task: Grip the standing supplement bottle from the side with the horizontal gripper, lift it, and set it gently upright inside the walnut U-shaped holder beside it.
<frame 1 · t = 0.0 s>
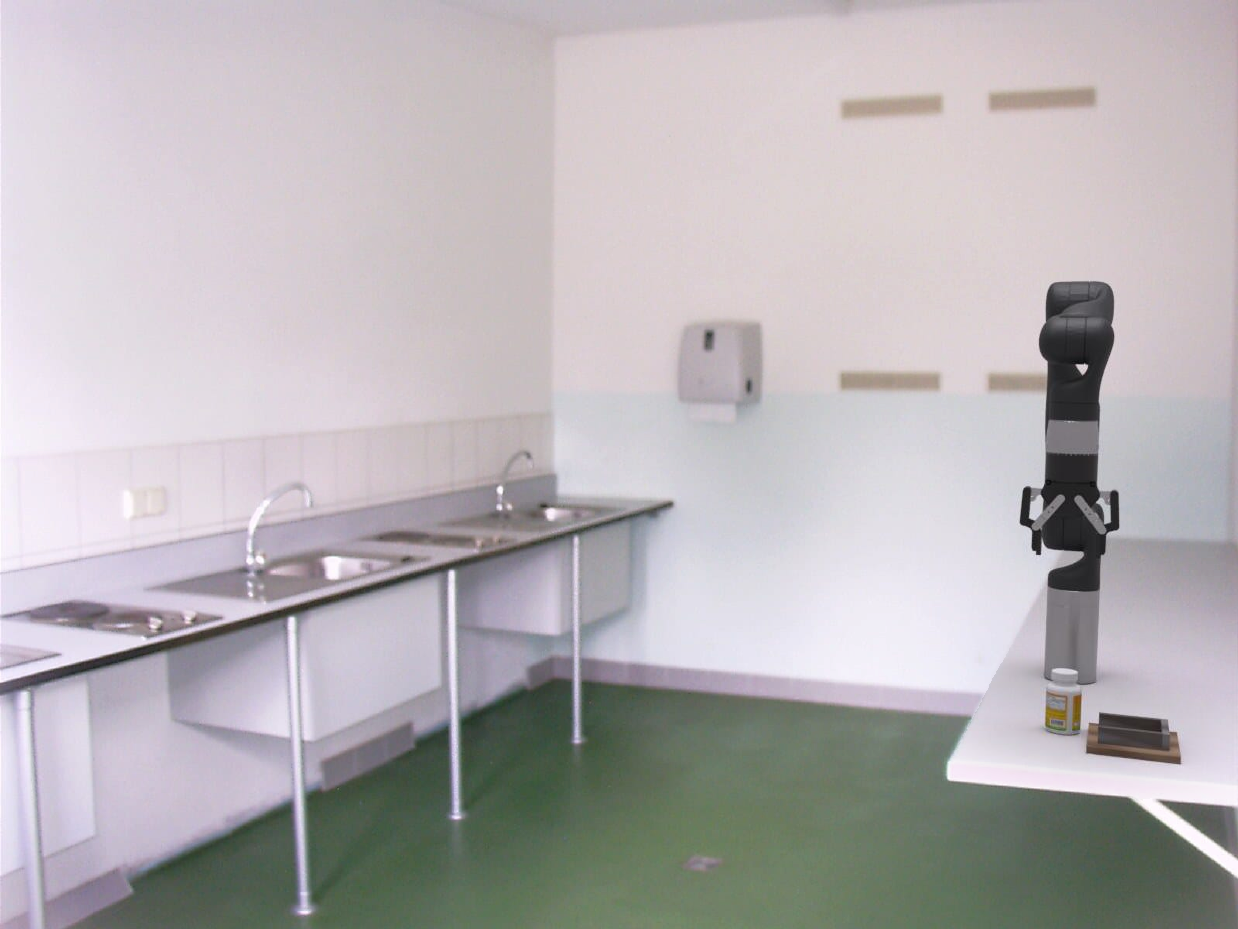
hand: (1067, 556, 192), 29 cm above the table, tool pointing down, fingers open, 8 cm apart
u holder: (1128, 745, 195), on the table
supplement bottle: (1062, 732, 202), on the table
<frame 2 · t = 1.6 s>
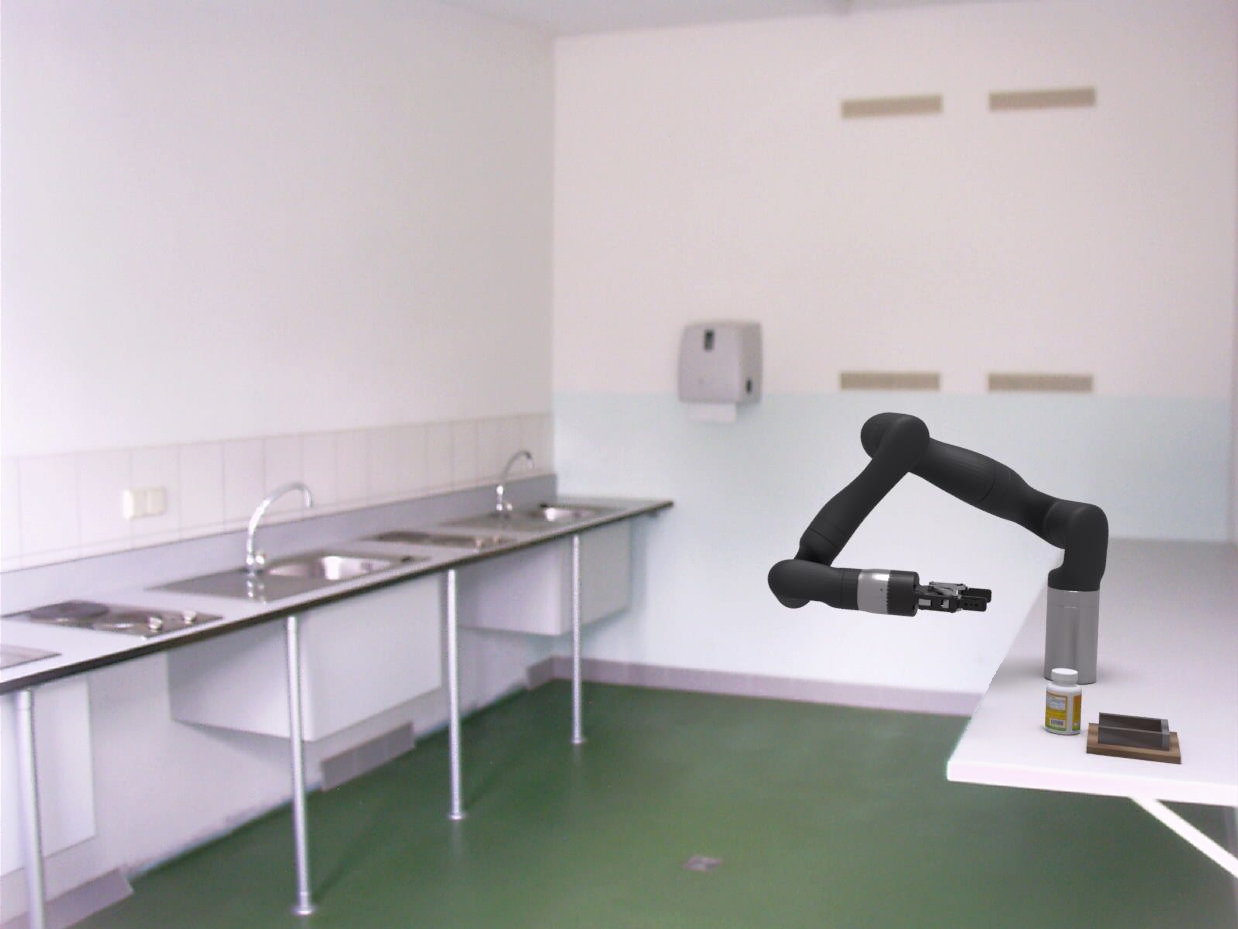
hand: (989, 600, 205), 20 cm above the table, tool horizontal, fingers open, 8 cm apart
nothing on the table moved.
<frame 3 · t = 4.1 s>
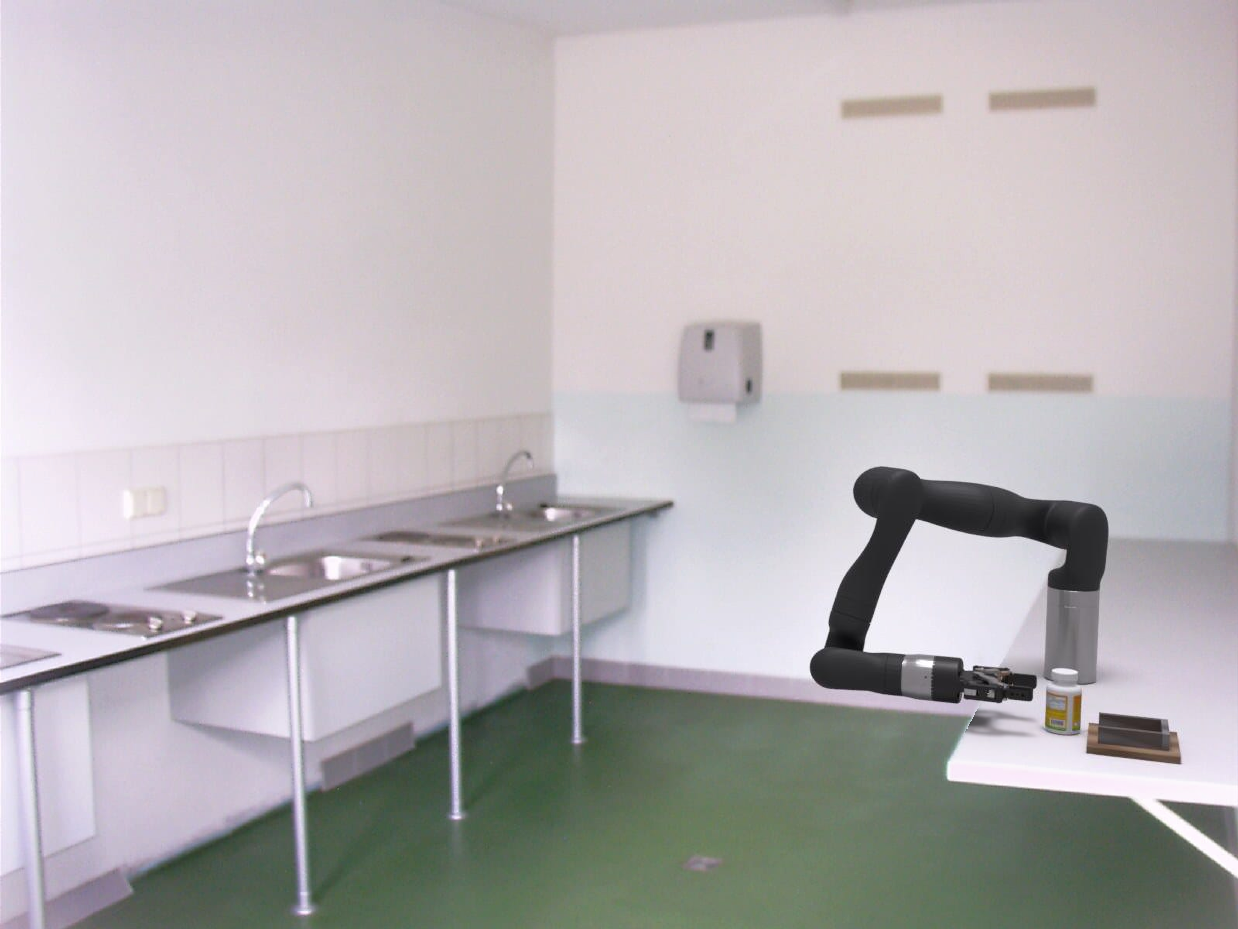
hand: (1034, 688, 203), 6 cm above the table, tool horizontal, fingers open, 8 cm apart
nothing on the table moved.
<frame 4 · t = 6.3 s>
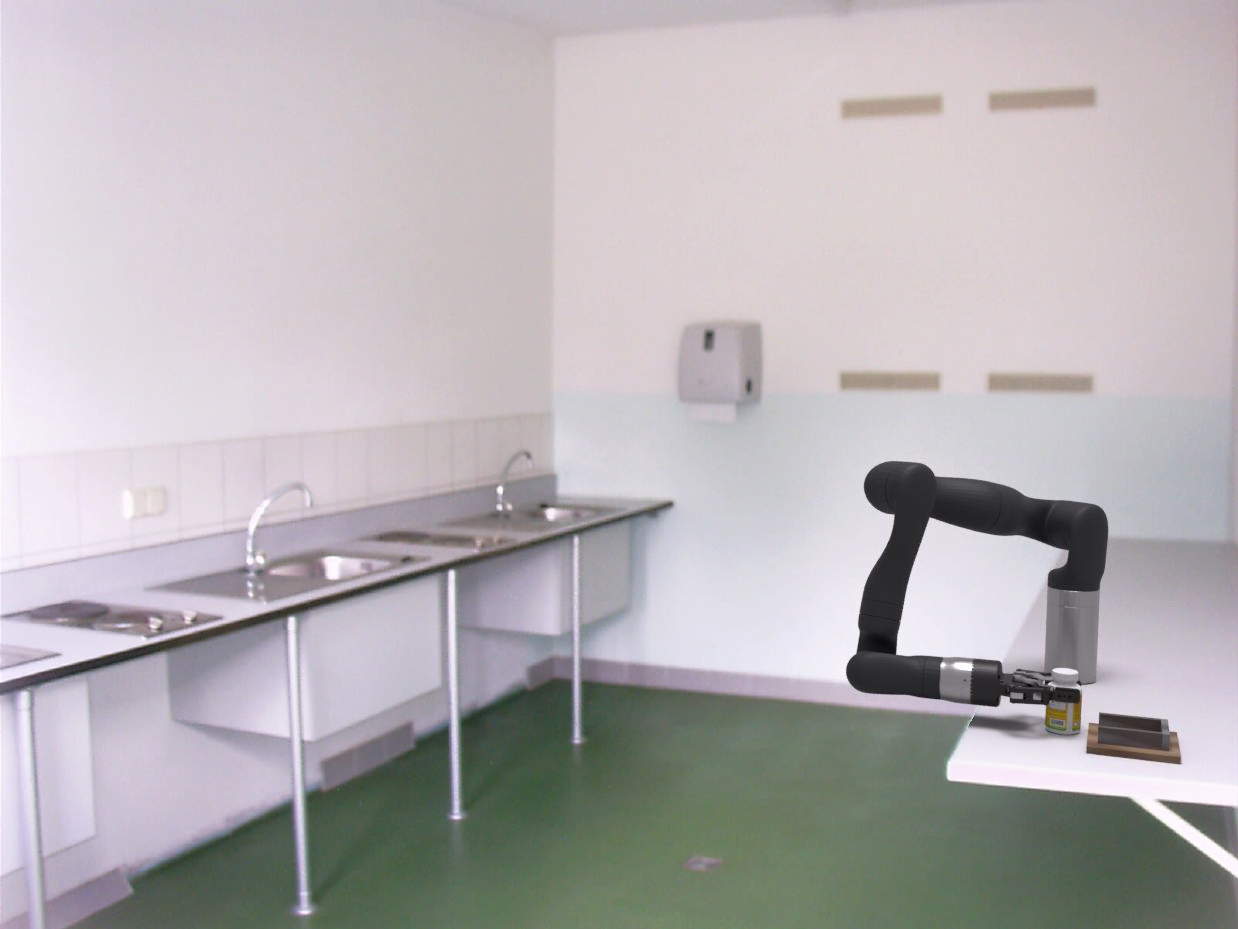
hand: (1080, 691, 201), 7 cm above the table, tool horizontal, fingers closed on supplement bottle, 5 cm apart
supplement bottle: (1062, 731, 202), on the table, touching gripper
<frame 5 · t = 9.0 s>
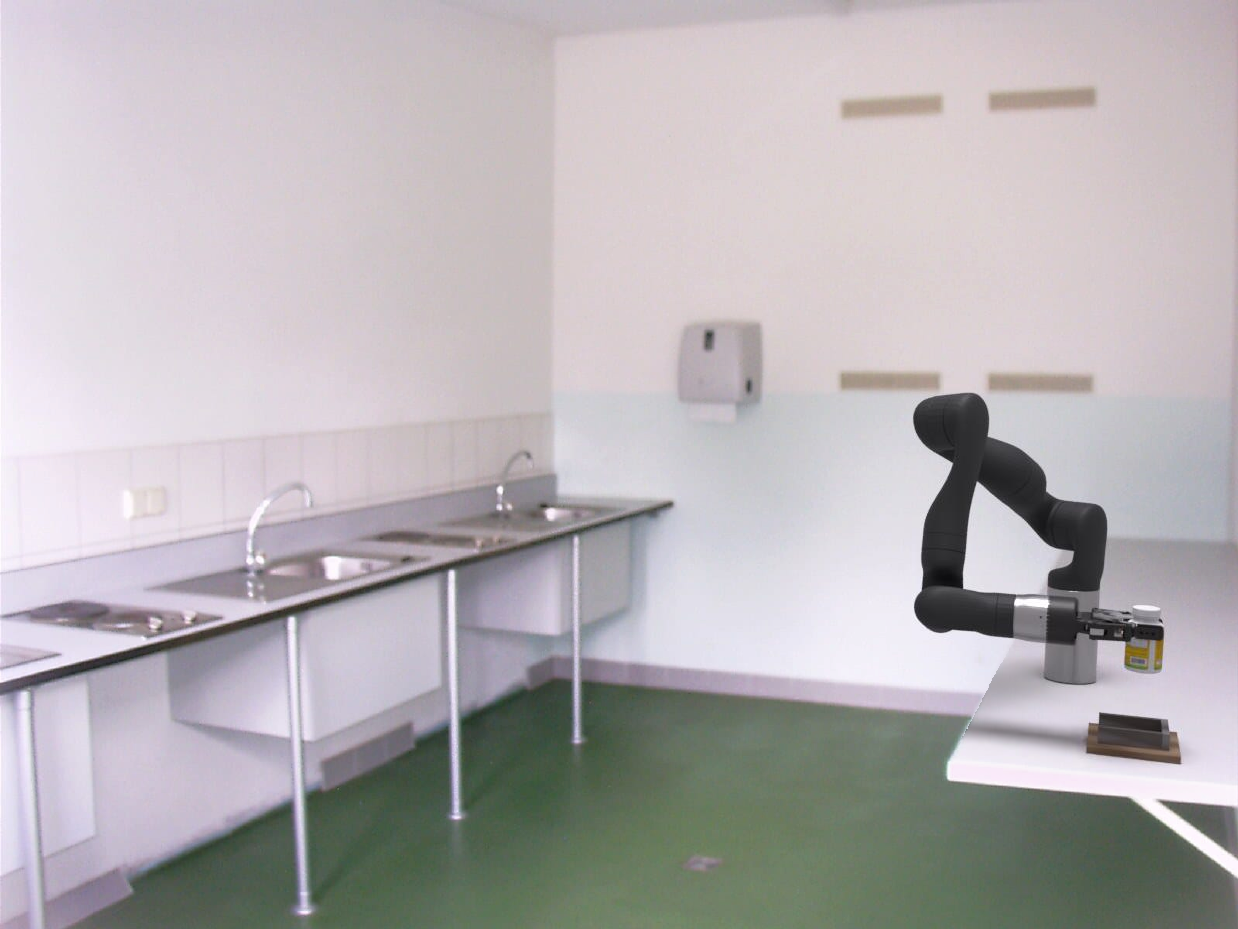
hand: (1162, 629, 192), 18 cm above the table, tool horizontal, fingers closed on supplement bottle, 5 cm apart
supplement bottle: (1142, 671, 193), point 12 cm above the table, touching gripper
when the fingers open (9 cm above the table, at t = 12.0 s): supplement bottle drops 1 cm, resting on u holder.
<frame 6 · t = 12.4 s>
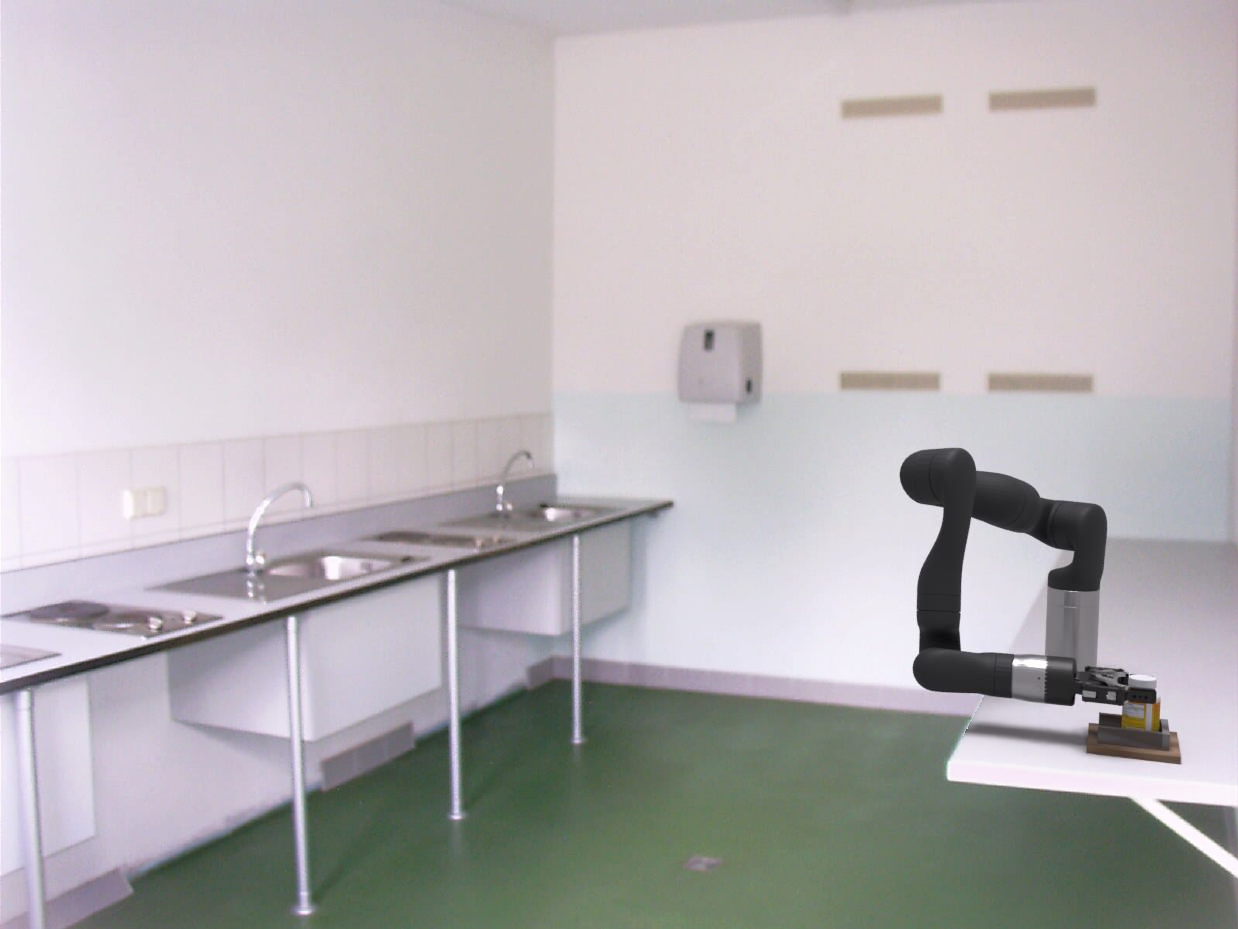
hand: (1155, 690, 193), 9 cm above the table, tool horizontal, fingers open, 8 cm apart
supplement bottle: (1139, 741, 194), point 1 cm above the table, touching u holder
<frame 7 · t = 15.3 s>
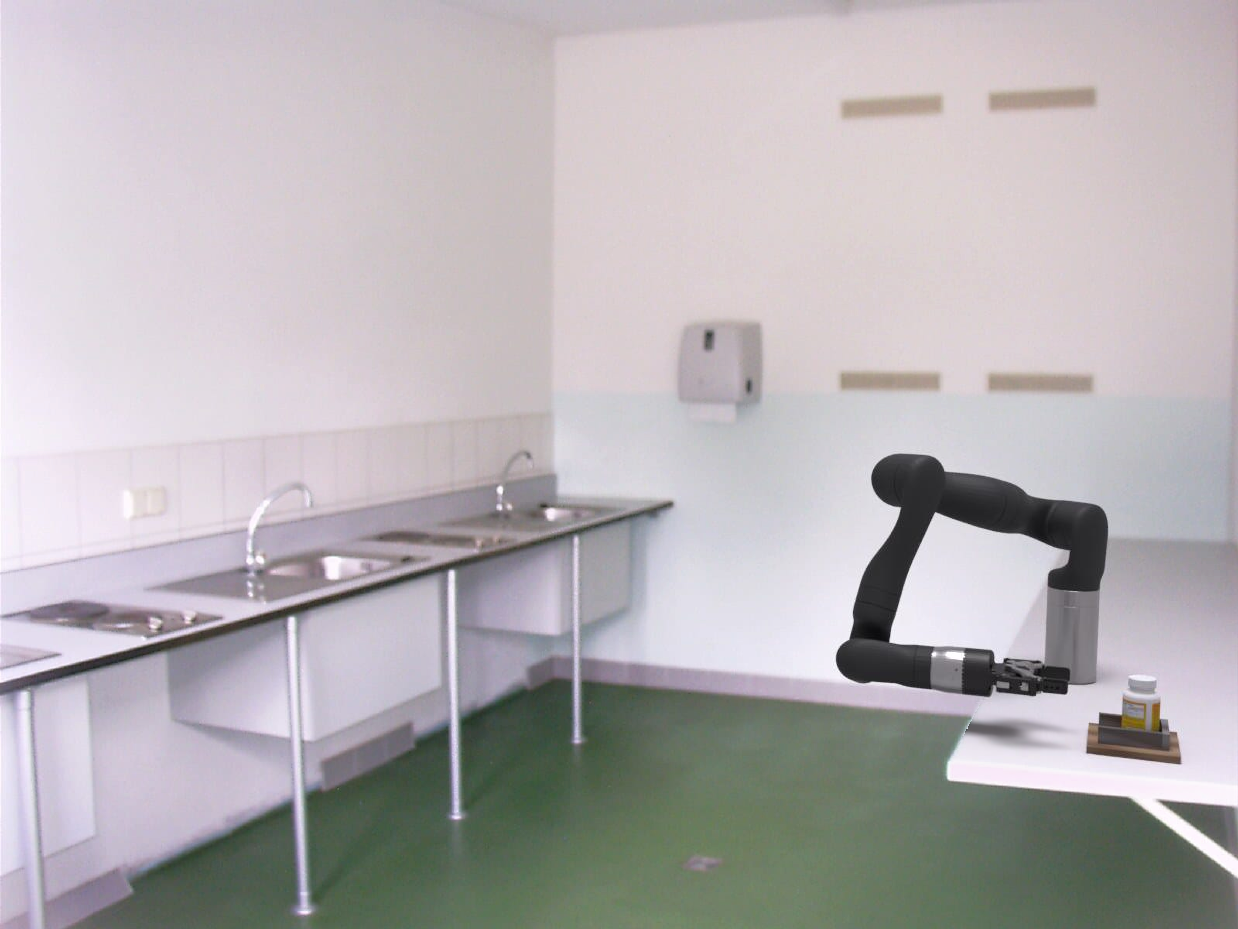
hand: (1069, 681, 197), 9 cm above the table, tool horizontal, fingers open, 8 cm apart
nothing on the table moved.
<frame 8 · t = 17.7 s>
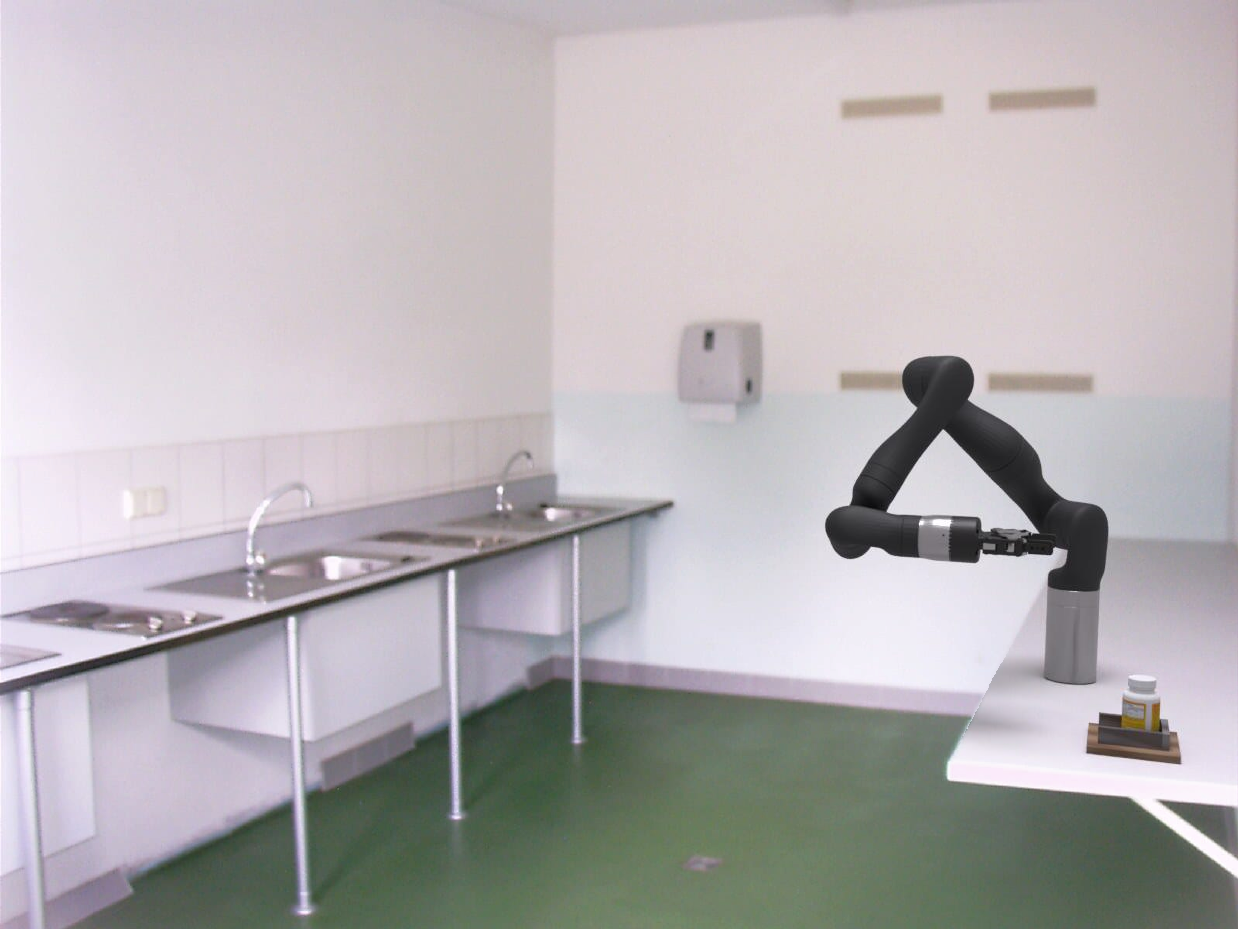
hand: (1054, 544, 199), 30 cm above the table, tool horizontal, fingers open, 8 cm apart
nothing on the table moved.
at the end: supplement bottle 0.2 cm from the target spot on the u holder, point 0.8 cm above the u holder's base; supplement bottle tilted 0°; the gripper is holding nothing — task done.
